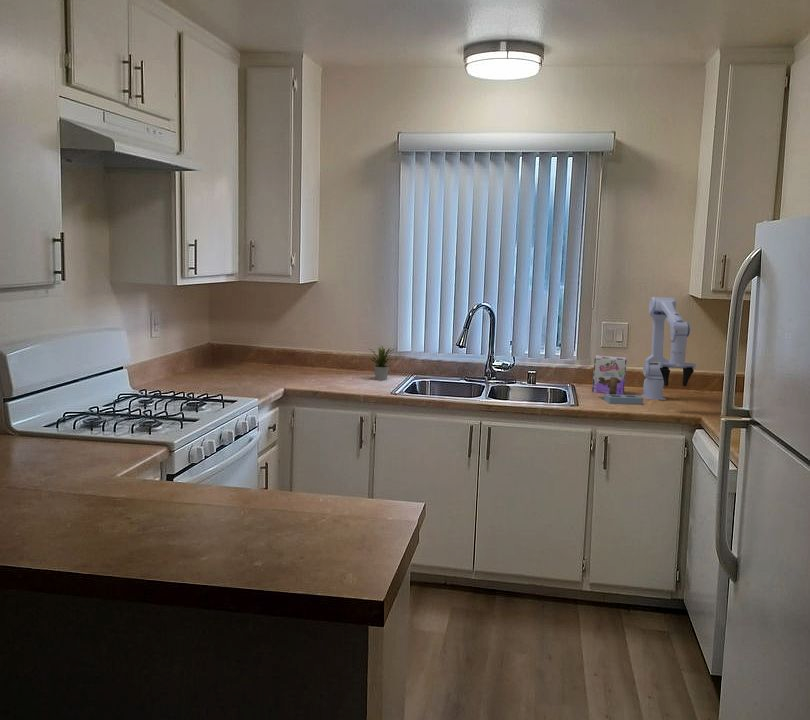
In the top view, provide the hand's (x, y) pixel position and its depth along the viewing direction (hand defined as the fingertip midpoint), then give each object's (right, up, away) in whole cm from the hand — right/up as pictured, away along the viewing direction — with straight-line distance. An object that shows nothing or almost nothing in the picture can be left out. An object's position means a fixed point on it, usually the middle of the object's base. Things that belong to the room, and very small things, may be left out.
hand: (675, 385), depth 323 cm
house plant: (-118, +1, +50) cm, 128 cm away
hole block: (-17, -8, +13) cm, 23 cm away
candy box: (-18, -5, +36) cm, 40 cm away
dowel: (-20, -6, +21) cm, 29 cm away
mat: (-20, -7, +21) cm, 29 cm away
